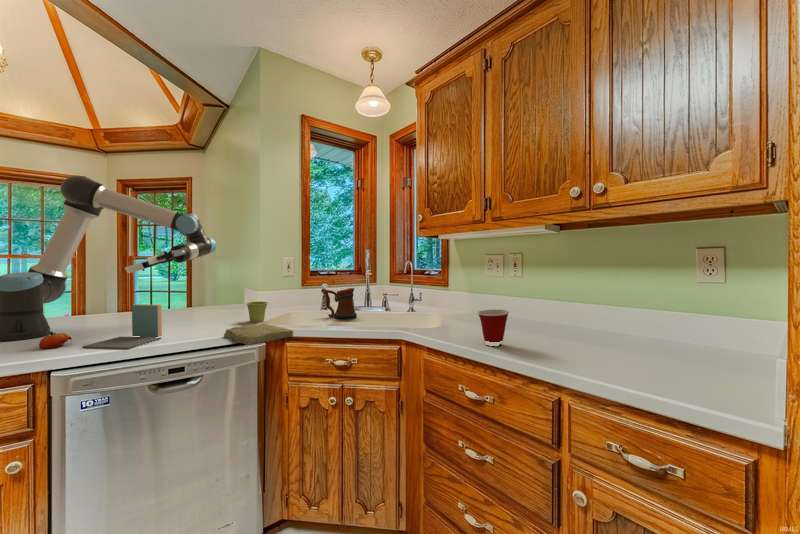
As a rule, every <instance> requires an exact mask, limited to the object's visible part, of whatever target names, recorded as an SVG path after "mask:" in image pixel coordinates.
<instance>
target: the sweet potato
mask: <svg viewBox="0 0 800 534" xmlns="http://www.w3.org/2000/svg"><path fill="white" fill-rule="evenodd" d="M68 340H70V341H72V336H70V335H69V334H68V333H64V332H61V333H56V332H53V331H51V330H50V333H49V335H46V336H43V338H42V339H40V340H39V343H38V347H39V349H40V350H47V349H60V348H59V347H61V348H62V345H64V344H65V343H67V342H68Z"/></svg>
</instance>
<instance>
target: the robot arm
mask: <svg viewBox="0 0 800 534" xmlns="http://www.w3.org/2000/svg"><path fill="white" fill-rule="evenodd" d="M60 193H61V196H62V197H63V198H64V199H65V200H64V201H63V203H62V205H63V207H64V209H65V211H64V213H63V215H62V216H61V219H60V220H59V223H58V224H57V226H56V229H55V230H54V232H53V234H52V236H51V237H50V240H49V241H48V243H47V245H46V248H44V251H43V253H42V254H41V257H40V258H39V261H38V263H37V264H34V265H31V266H30V267H29V269H28V271H27V272H26V271H24V272H15V273H13V272H12V273H11V272H10V273H6V274H1V275H0V342H9V341H10V342H12V341H13V342H14V341H21V340H29V339H36V338H42V337H45V336H50V334H49V333H50V332H51V327H50V325H49V323H48V320H47V318H46V317H45V314H44V304H49V303H52V302H54V301H56V300H58V299H59V298H61V297H62V296H63V295H64V294H65V292H66V290H67V284H66V282H67V279H68V277H69V275H68V272H66V271H67V269H68V267H69V265H70V263H71V261H72V260H73V257H74V255H75V254H76V251H77V249H78V247H79V245H80V244H81V241H82V240H83V238H84V235H85V234H86V232H87V229H88V228H89V226H90V224H91V221H93V219H96V218H99V216H100V215H101V212H102V211H103V210H104V209H106V210H110V211H113V212H116V213H119V214H123V215H124V216H125V215H126V216H130V217H131V218H134V219H139V220H141V221H145V222H148V223H151V224H154V225H158V226H161V227H165V228H168V229H171V230H174V231H177V232H179V233H182V234H184V235H185V236H186V238H187V242H184V243H181V244H177V245H173V246H172V247H171V248H170V250H169V251H167V250H165V251H164V250H163V251H162V253H159V254H156V255H153V256H150V257H146V258H145V259H146V261H144V262H139V263H135V264H131V265H127V266H124V270H125V272H126V274H127V275H128V274H133V273H135V272H138V271H142V272H144V271H145V269H148V268H151V267H154V266H157V265H161V264H162V265H163V264H166V263H171V262H173V261H174V262H176V263H178V264H179V263H181V264H182V263H184V262H187V261H190V260H192V261H194V260H195V259H197V258H201V257H204V256H207V255H209V254H212V253H214V252H215V251H216V250H217V243H216V241H215V239H213V238H212V237H208V236H207V235H206V233H205V231H204V230H205V229H204V228H203V226H202V224H201V222H200V219H199V217H198V216H197V214H196V213H188V214H183V213H181V212H179V211H176V210H173V209H169V208H165V207H162V206H161V205H158V204H157V205H156V204H154V203H151V202H148V201H144V200H141V199H139V198H137V197H133V196H131V195H130V196H129V195H127V194H124V193H121V192H118V191H115V190H113V189H108V187H107V185H105V184H102V183H100V182H98V181H96V180H93V179H91V178H89V177H87V176H83V175H71V176H69V177H67V178H65V179H64V180H62V182H61V184H60Z"/></svg>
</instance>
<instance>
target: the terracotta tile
mask: <svg viewBox="0 0 800 534" xmlns="http://www.w3.org/2000/svg"><path fill="white" fill-rule="evenodd" d="M162 320H163V319H162V304H138V303H137V304H131V328H132V329H131V333H132V334H131V337H132V336H140V337H159V336H162V335H163V332H162V328H163V327H162V326H163V323H162ZM162 337H163V336H162ZM159 338H160V337H159Z"/></svg>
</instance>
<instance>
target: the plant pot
mask: <svg viewBox="0 0 800 534" xmlns="http://www.w3.org/2000/svg"><path fill="white" fill-rule="evenodd" d="M268 303H269V302H268V301H249V302H246V303H245V304H246V307H247V309H248V311H247V312H248V317H249V322H250V323H255V322H256V323H262V322H264V321H265V317H266V310H267V306H268Z"/></svg>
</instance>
